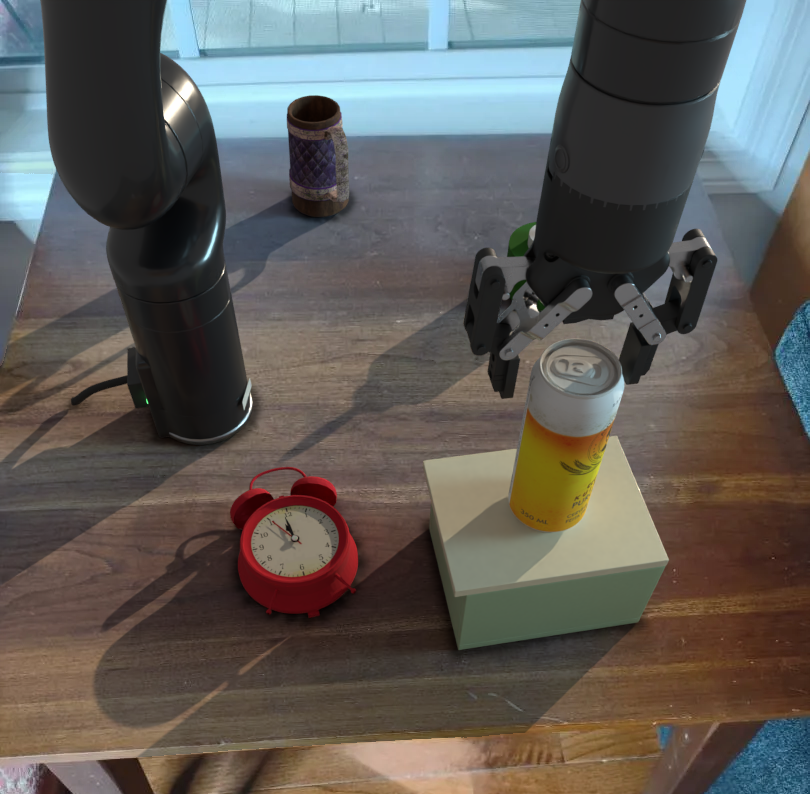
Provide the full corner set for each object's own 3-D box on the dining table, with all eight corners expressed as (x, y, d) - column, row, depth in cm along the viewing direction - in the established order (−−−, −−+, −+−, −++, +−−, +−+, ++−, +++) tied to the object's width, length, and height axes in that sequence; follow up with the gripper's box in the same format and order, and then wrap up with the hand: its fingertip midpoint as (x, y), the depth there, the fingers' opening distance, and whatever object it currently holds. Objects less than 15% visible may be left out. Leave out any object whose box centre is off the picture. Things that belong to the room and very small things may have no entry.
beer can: (581, 544, 66) (625, 408, 53) (502, 530, 66) (527, 392, 54) (587, 483, 69) (631, 341, 57) (512, 470, 70) (538, 327, 57)
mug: (282, 194, 106) (271, 97, 96) (334, 178, 108) (329, 83, 98) (317, 240, 101) (309, 144, 91) (371, 223, 103) (369, 127, 93)
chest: (458, 650, 71) (466, 595, 64) (428, 527, 78) (433, 465, 71) (638, 622, 73) (666, 566, 66) (593, 504, 80) (614, 442, 73)
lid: (454, 597, 64) (455, 591, 63) (422, 467, 71) (422, 460, 70) (666, 566, 66) (669, 560, 65) (614, 441, 73) (616, 435, 72)
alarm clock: (249, 619, 68) (209, 455, 73) (255, 640, 74) (218, 487, 79) (375, 587, 70) (328, 429, 75) (371, 610, 76) (328, 462, 81)
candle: (488, 280, 98) (497, 202, 89) (542, 253, 101) (556, 175, 92) (536, 321, 94) (551, 243, 86) (591, 291, 97) (611, 213, 89)
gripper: (726, 106, 47) (648, 333, 60) (470, 124, 45) (449, 354, 59) (783, 188, 43) (686, 412, 56) (504, 211, 41) (473, 437, 54)
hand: (565, 382), depth 57 cm, fingers open, 8 cm apart
